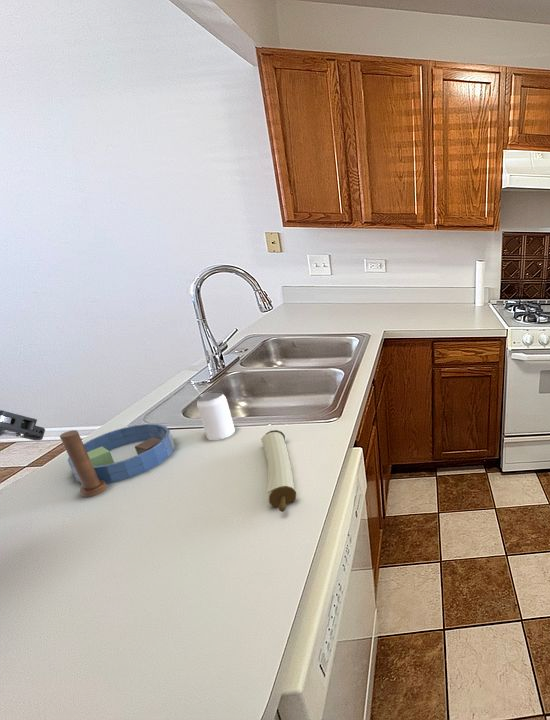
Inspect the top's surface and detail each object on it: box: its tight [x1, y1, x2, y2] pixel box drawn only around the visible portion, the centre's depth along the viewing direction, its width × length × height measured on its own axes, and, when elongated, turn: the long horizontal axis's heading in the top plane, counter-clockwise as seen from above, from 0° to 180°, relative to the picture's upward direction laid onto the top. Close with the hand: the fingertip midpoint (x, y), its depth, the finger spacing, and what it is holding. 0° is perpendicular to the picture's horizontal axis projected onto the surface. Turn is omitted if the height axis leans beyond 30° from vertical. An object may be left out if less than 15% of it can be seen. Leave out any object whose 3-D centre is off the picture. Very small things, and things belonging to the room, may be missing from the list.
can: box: [196, 390, 236, 441], centre depth 104 cm, size 6×6×12 cm
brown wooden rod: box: [59, 429, 108, 499], centre depth 82 cm, size 4×4×15 cm
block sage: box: [87, 447, 115, 467], centre depth 92 cm, size 4×4×4 cm
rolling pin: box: [260, 429, 297, 513], centre depth 90 cm, size 32×6×5 cm, turn 29°
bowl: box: [67, 423, 175, 484], centre depth 94 cm, size 18×18×5 cm
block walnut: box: [134, 438, 162, 455], centre depth 95 cm, size 4×4×4 cm
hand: (13, 436), depth 69 cm, fingers open, 8 cm apart
